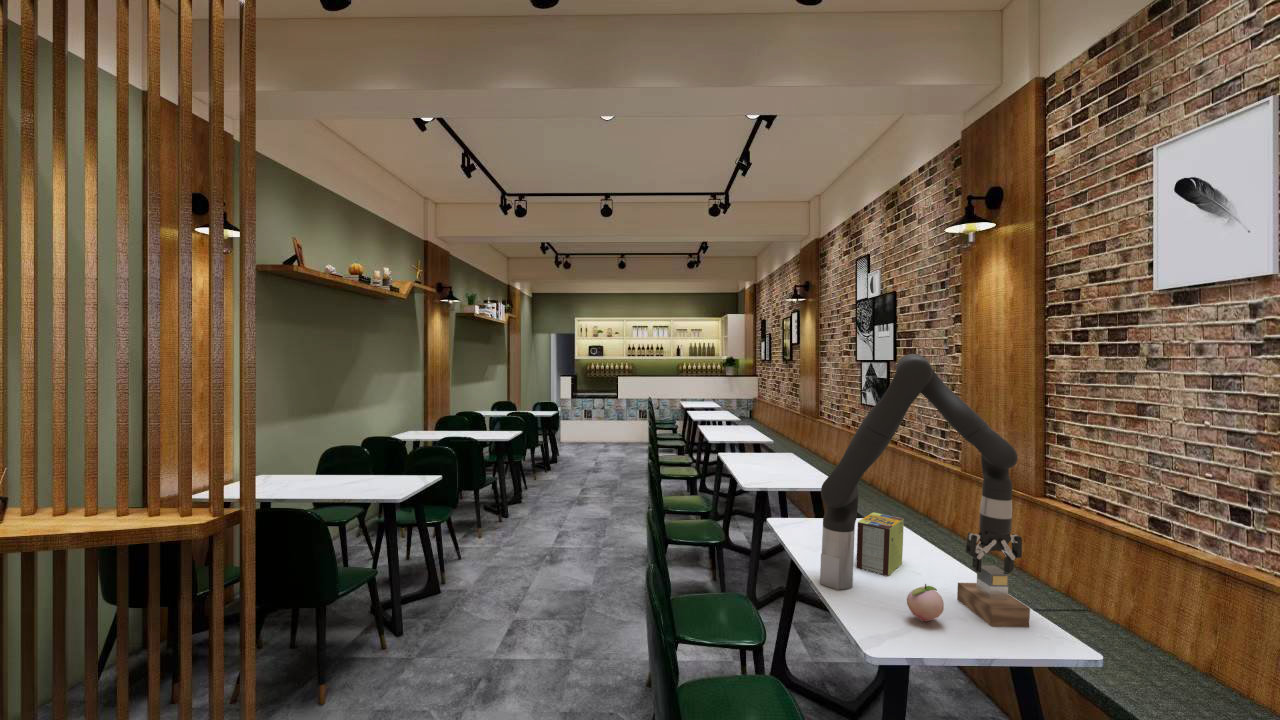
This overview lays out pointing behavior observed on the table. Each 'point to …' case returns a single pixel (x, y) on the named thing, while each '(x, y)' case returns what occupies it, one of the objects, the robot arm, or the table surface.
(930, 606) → the decorative fruit
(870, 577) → the table surface
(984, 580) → the housing
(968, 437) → the robot arm
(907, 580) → the table surface
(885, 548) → the protein box
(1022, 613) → the walnut stand
